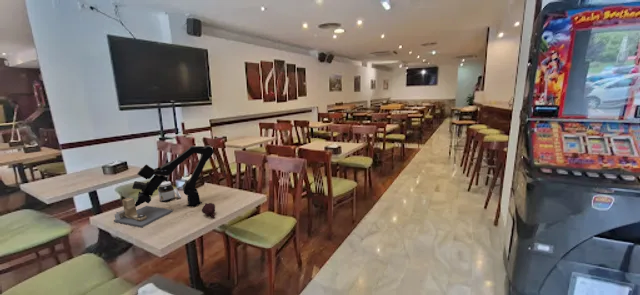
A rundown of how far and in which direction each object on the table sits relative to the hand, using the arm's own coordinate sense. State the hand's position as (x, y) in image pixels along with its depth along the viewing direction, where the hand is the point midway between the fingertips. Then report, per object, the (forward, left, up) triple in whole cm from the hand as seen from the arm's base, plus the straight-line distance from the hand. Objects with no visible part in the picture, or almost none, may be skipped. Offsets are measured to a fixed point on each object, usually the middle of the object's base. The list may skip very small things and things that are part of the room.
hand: (135, 206), depth 148 cm
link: (-2, +3, -5) cm, 6 cm away
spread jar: (+4, -26, -7) cm, 27 cm away
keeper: (0, +2, -6) cm, 6 cm away
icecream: (-38, -15, -7) cm, 42 cm away
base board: (-3, -2, -7) cm, 8 cm away
